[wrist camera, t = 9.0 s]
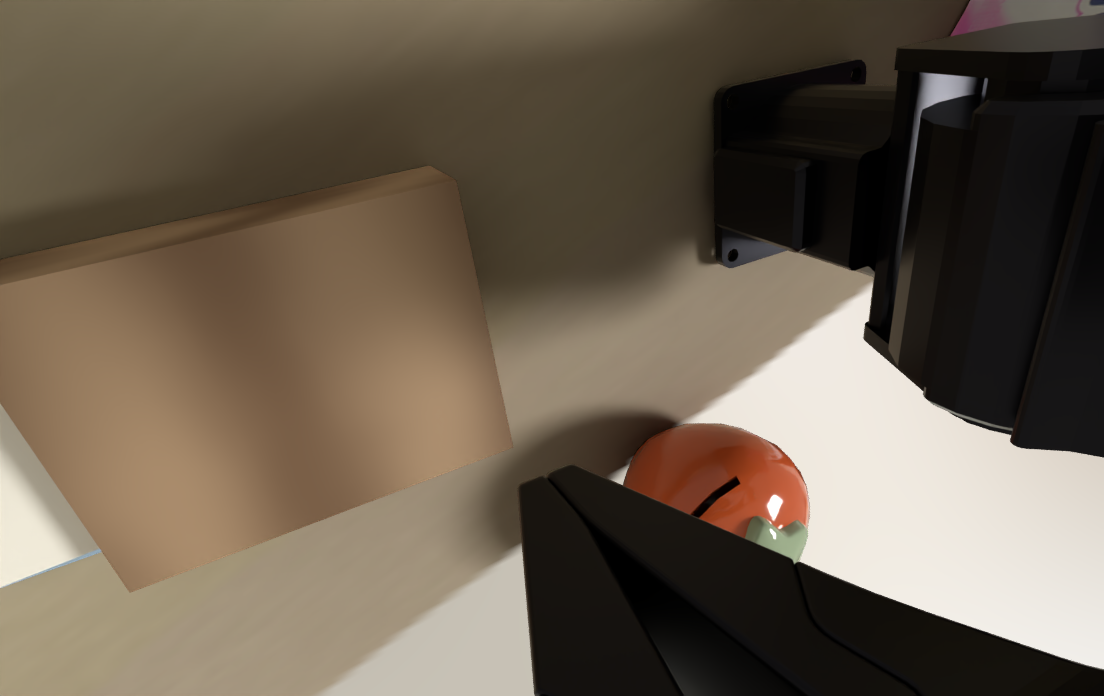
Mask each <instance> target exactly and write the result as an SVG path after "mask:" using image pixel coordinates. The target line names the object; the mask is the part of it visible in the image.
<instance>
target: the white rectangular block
mask: <svg viewBox="0 0 1104 696" xmlns="http://www.w3.org/2000/svg"><path fill="white" fill-rule="evenodd" d="M97 549H100V548H99V547H98V545H97V544H96V543H95V541H94V540H93V538H92V537H91V535H90V534H89V532H88V531H87V529H86V528H85V526H84V525H83V524H82V522H81V521H80V519H79V518H78V516H77V515H76V513H75V512H74V510H73V509H72V507H71V506H70V505H69V503H68V502H67V500H66V499H65V497H64V496H63V494H62V493H61V491H60V490H59V489H58V487H57V486H56V484H55V483H54V481H53V480H52V478H51V477H50V475H49V474H48V472H47V471H46V470H45V468H44V467H43V465H42V464H41V462H40V461H39V459H38V458H37V456H36V455H35V453H34V452H33V451H32V449H31V448H30V446H29V445H28V443H27V442H26V440H25V439H24V437H23V436H22V434H21V433H20V432H19V430H18V429H17V427H16V426H15V424H14V423H13V421H12V420H11V418H10V417H9V415H8V414H7V413H6V411H5V410H4V408H3V407H2V405H1V404H0V588H1V587H3V586H6V585H8V584H11V583H13V582H16V581H18V580H21V579H23V578H26V577H29V576H31V575H34V574H36V573H39V572H41V571H44V570H46V569H49V568H51V567H54V566H57V565H59V564H62V563H64V562H67V561H69V560H72V559H74V558H77V557H80V556H82V555H85V554H87V553H90V552H92V551H95V550H97Z"/></svg>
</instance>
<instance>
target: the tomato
mask: <svg viewBox="0 0 1104 696" xmlns="http://www.w3.org/2000/svg"><path fill="white" fill-rule="evenodd" d="M623 486H625V487H628V488H630V489H632V490H635V491H637V492H639V493H641V494H644V495H646V496H648V497H651V498H653V499H655V500H658V501H660V502H662V503H665V504H667V505H669V506H672V507H674V508H676V509H678V510H681V511H683V512H685V513H688V514H690V515H692V516H695V517H697V518H699V519H702V520H704V521H706V522H709V523H711V524H713V525H715V526H718V527H720V528H722V529H725V530H727V531H729V532H732V533H734V534H736V535H739V536H741V537H743V538H745V539H748V540H750V541H752V542H755V543H757V544H759V545H762V546H764V547H766V548H769V549H771V550H773V551H776V552H778V553H780V554H782V555H785V556H787V557H789V558H791V559H793V561H794V564H795V563H796V562H799V561H800V558H801V555H802V553H803V550H804V547H805V545H806V541H807V537H808V523H809V517H810V503H809V497H808V492H807V486H806V484H805V482H804V479H803V477H802V475H801V472H800V471H799V470H798V469H797V467H796V466H795V464H794V463H793V462H792V460H791V459H790V458H789V457H788V456H787V455H786V454H785V453H784V452H783V451H782V450H781V449H780V448H779V447H778V446H777V445H775V444H773V443H771V442H769V441H767V440H765V439H763V438H761V437H759V436H757V435H754V434H753V433H750V432H748V431H746V430H744V429H742V428H738V427H734V426H729V425H725V424H704V423H703V424H683V425H680V426H677V427H674V428H670V429H668V430H665V431H662V432H659V433H658V434H656V435H654V436H653V437H651V438H649V439H648V440H647V441H646V442H645V443H644V444H643V445H642V446H641V447H640V448H639V449H638V450H637V452H636V453H635V455H634V457H633V459H632V460H631V463H630V466H629V468H628V470H627V473H626V476H625V480H624V483H623Z"/></svg>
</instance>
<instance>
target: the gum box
mask: <svg viewBox="0 0 1104 696" xmlns="http://www.w3.org/2000/svg"><path fill="white" fill-rule="evenodd" d="M1100 14H1104V0H970V2H969V4H968V6H967V8H966V10H965V12H964V14H963V15H962V17H961V19H960V20H959V22H958V24H957V25H956V27H955V29H954V30H953V32H952V34H951V36H955V35H960V34H964V33H969V32H974V31H979V30H983V29H988V28H993V27H998V26H1002V25H1007V24H1012V23H1019V22H1028V21H1038V20H1048V19H1059V18H1069V17H1079V16H1090V15H1100Z"/></svg>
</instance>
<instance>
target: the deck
mask: <svg viewBox="0 0 1104 696" xmlns="http://www.w3.org/2000/svg"><path fill="white" fill-rule="evenodd" d="M0 404H1V405H2V407H3V408H4V410H5V411H6V413H7V414H8V415H9V417H10V418H11V420H12V421H13V423H14V424H15V426H16V427H17V429H18V430H19V432H20V433H21V434H22V436H23V437H24V439H25V440H26V442H27V443H28V445H29V446H30V448H31V449H32V451H33V452H34V453H35V455H36V456H37V458H38V459H39V461H40V462H41V464H42V465H43V467H44V468H45V470H46V471H47V472H48V474H49V475H50V477H51V478H52V480H53V481H54V483H55V484H56V486H57V487H58V489H59V490H60V491H61V493H62V494H63V496H64V497H65V499H66V500H67V502H68V503H69V505H70V506H71V507H72V509H73V510H74V512H75V513H76V515H77V516H78V518H79V519H80V521H81V522H82V524H83V525H84V526H85V528H86V529H87V531H88V532H89V534H90V535H91V537H92V538H93V540H94V541H95V543H96V544H97V545H98V547H99V548H100V550H101V551H102V553H103V554H104V556H105V557H106V559H107V560H108V562H109V563H110V564H111V566H112V567H113V569H114V570H115V572H116V573H117V575H118V576H119V578H120V579H121V581H122V582H123V583H124V585H125V586H126V588H127V589H128V591H129V592H133V591H136V590H138V589H141V588H144V587H146V586H149V585H152V584H154V583H157V582H159V581H162V580H165V579H167V578H170V577H173V576H175V575H178V574H181V573H183V572H186V571H188V570H191V569H194V568H196V567H199V566H202V565H204V564H207V563H210V562H212V561H215V560H217V559H220V558H223V557H225V556H228V555H231V554H233V553H236V552H239V551H241V550H244V549H247V548H249V547H252V546H254V545H257V544H260V543H262V542H265V541H268V540H270V539H273V538H276V537H278V536H281V535H283V534H286V533H289V532H291V531H294V530H297V529H299V528H302V527H305V526H307V525H310V524H312V523H315V522H318V521H320V520H323V519H326V518H328V517H331V516H334V515H336V514H339V513H341V512H344V511H347V510H349V509H352V508H355V507H357V506H360V505H363V504H365V503H368V502H370V501H373V500H376V499H378V498H381V497H384V496H386V495H389V494H392V493H394V492H397V491H400V490H402V489H405V488H407V487H410V486H413V485H415V484H418V483H421V482H423V481H426V480H429V479H431V478H434V477H436V476H439V475H442V474H444V473H447V472H450V471H452V470H455V469H458V468H460V467H463V466H465V465H468V464H471V463H473V462H476V461H479V460H481V459H484V458H487V457H489V456H492V455H494V454H497V453H500V452H502V451H505V450H508V449H510V448H513V444H512V439H511V434H510V429H509V425H508V420H507V415H506V411H505V406H504V401H503V397H502V392H501V387H500V383H499V378H498V373H497V369H496V364H495V359H494V355H493V350H492V345H491V340H490V336H489V331H488V326H487V322H486V317H485V312H484V308H483V303H482V298H481V294H480V289H479V284H478V280H477V275H476V270H475V266H474V261H473V256H472V252H471V247H470V242H469V237H468V233H467V228H466V223H465V219H464V214H463V209H462V205H461V200H460V195H459V191H458V186H457V181H456V180H455V179H453V178H451V177H449V176H448V175H446V174H444V173H442V172H440V171H439V170H437V169H435V168H433V167H431V166H430V165H429V166H424V167H420V168H415V169H411V170H406V171H402V172H397V173H392V174H388V175H383V176H379V177H374V178H370V179H365V180H361V181H356V182H351V183H347V184H342V185H338V186H333V187H329V188H324V189H320V190H315V191H310V192H306V193H301V194H297V195H292V196H288V197H283V198H279V199H274V200H269V201H265V202H260V203H256V204H251V205H247V206H242V207H238V208H233V209H228V210H224V211H219V212H215V213H210V214H206V215H201V216H197V217H192V218H187V219H183V220H178V221H174V222H169V223H165V224H160V225H156V226H151V227H146V228H142V229H137V230H133V231H128V232H124V233H119V234H115V235H110V236H105V237H101V238H96V239H92V240H87V241H83V242H78V243H74V244H69V245H64V246H60V247H55V248H51V249H46V250H42V251H37V252H33V253H28V254H23V255H19V256H14V257H10V258H5V259H1V260H0Z"/></svg>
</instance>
